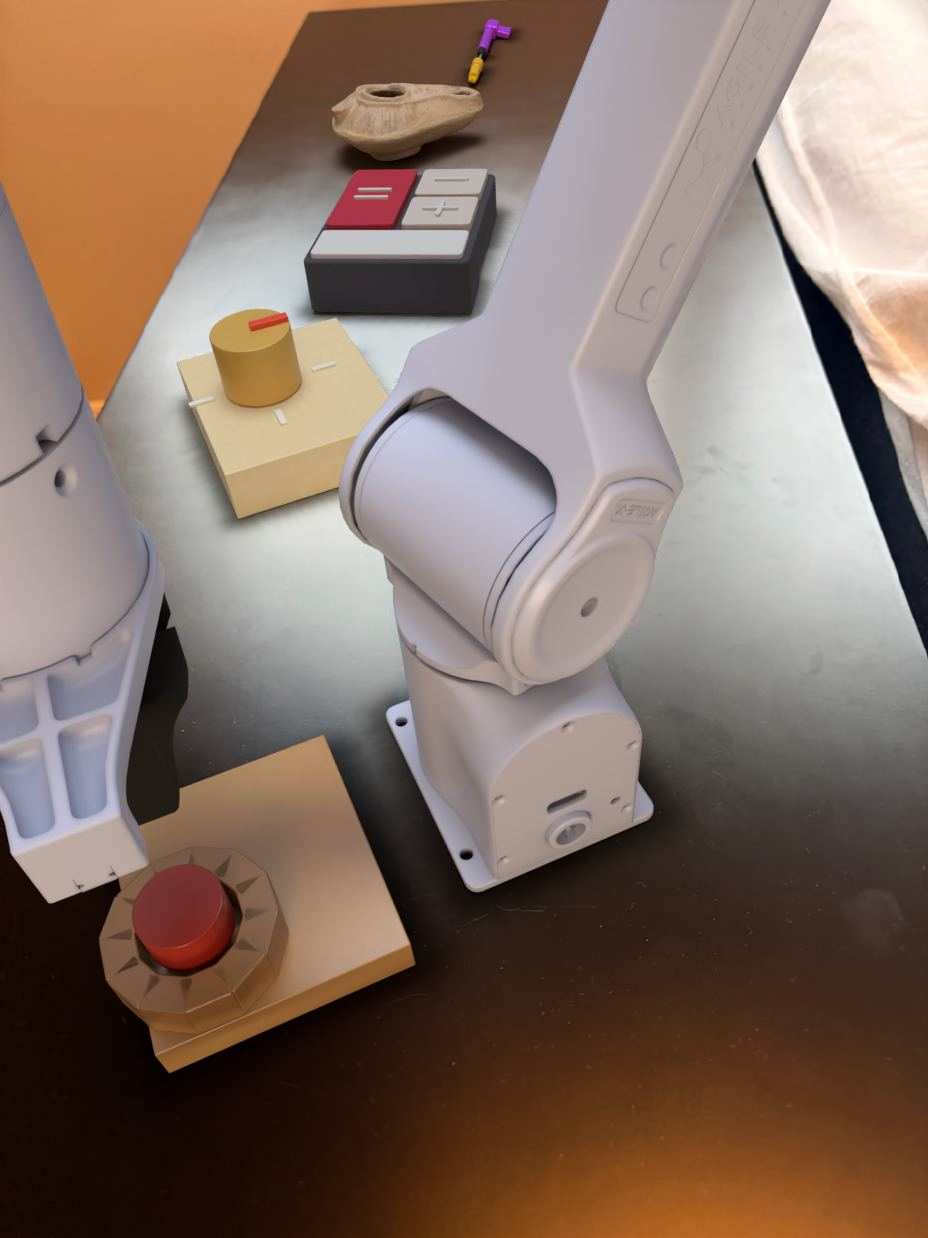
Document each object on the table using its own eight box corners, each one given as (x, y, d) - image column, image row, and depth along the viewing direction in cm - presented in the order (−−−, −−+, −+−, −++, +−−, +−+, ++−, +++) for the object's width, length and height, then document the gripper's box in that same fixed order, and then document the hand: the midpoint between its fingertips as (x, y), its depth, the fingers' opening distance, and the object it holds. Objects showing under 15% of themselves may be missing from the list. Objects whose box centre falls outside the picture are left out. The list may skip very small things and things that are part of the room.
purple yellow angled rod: (485, 27, 104) (464, 86, 94) (487, 15, 104) (466, 72, 93) (510, 33, 104) (492, 92, 94) (512, 21, 104) (494, 79, 93)
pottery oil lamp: (498, 150, 83) (468, 83, 76) (369, 210, 86) (330, 151, 79) (477, 77, 86) (447, 7, 80) (354, 137, 89) (315, 75, 83)
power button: (245, 949, 33) (233, 925, 32) (157, 987, 32) (140, 964, 31) (224, 876, 35) (211, 850, 34) (139, 909, 34) (124, 885, 33)
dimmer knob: (235, 415, 54) (217, 354, 52) (216, 375, 57) (199, 316, 55) (311, 393, 55) (298, 332, 53) (289, 355, 58) (276, 295, 55)
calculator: (495, 162, 73) (467, 250, 63) (497, 220, 76) (471, 314, 66) (350, 163, 75) (299, 250, 64) (358, 220, 78) (310, 312, 67)
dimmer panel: (411, 464, 55) (405, 417, 53) (232, 521, 53) (218, 474, 51) (343, 359, 63) (335, 314, 61) (185, 405, 61) (170, 360, 59)
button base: (416, 965, 36) (405, 920, 33) (150, 1082, 33) (116, 1044, 31) (330, 757, 42) (315, 707, 40) (103, 844, 40) (72, 797, 37)
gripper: (-257, 311, 23) (-18, 681, 33) (-333, 777, 14) (32, 1100, 24) (47, 239, 25) (189, 612, 35) (164, 612, 16) (312, 979, 25)
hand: (141, 805), depth 29 cm, fingers closed
